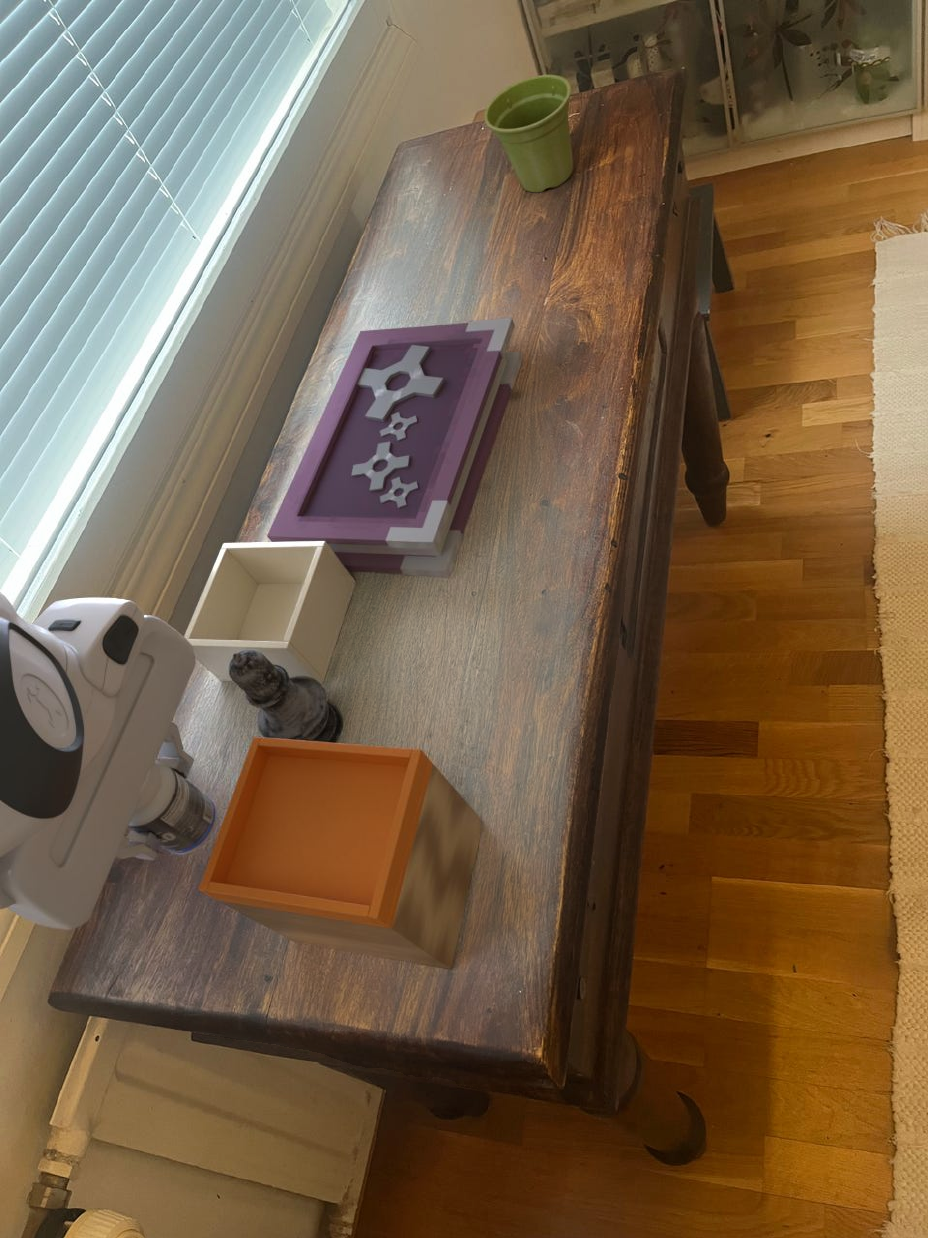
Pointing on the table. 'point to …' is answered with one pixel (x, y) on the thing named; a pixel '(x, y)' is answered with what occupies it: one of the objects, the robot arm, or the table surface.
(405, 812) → the amber tray
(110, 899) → the table surface
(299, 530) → the book
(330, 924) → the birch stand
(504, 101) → the plant pot
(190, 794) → the pill bottle
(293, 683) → the chess bishop
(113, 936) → the table surface
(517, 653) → the table surface
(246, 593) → the cream bin
